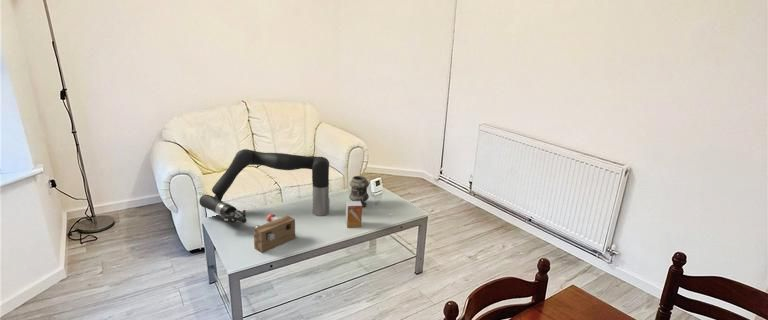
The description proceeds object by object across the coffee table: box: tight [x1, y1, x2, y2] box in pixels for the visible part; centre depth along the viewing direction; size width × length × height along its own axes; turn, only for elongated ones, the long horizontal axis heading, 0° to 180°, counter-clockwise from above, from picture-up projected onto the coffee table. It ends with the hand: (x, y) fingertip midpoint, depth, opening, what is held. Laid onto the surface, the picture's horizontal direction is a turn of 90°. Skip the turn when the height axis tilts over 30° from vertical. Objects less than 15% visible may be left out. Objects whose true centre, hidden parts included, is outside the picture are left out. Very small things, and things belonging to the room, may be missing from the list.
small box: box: [345, 200, 363, 228], centre depth 230 cm, size 8×6×13 cm
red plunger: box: [266, 213, 287, 227], centre depth 214 cm, size 12×4×4 cm, turn 51°
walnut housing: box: [253, 215, 296, 254], centre depth 207 cm, size 6×20×11 cm, turn 141°
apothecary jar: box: [348, 175, 370, 209], centre depth 256 cm, size 12×12×18 cm
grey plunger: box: [253, 224, 275, 241], centre depth 201 cm, size 12×4×4 cm, turn 51°
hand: (245, 221), depth 213 cm, fingers closed
